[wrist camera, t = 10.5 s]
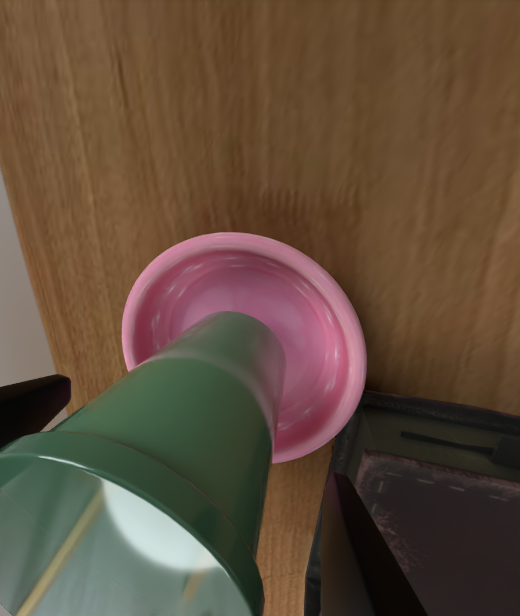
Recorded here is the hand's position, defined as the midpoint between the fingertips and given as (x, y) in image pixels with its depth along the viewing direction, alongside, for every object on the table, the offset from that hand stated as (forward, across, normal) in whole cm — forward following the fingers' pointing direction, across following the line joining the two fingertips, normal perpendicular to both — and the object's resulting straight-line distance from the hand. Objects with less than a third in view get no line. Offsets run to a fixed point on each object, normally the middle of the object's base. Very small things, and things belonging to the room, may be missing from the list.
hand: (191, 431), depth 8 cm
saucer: (+8, 0, 0) cm, 8 cm away
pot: (+4, 0, 0) cm, 4 cm away
